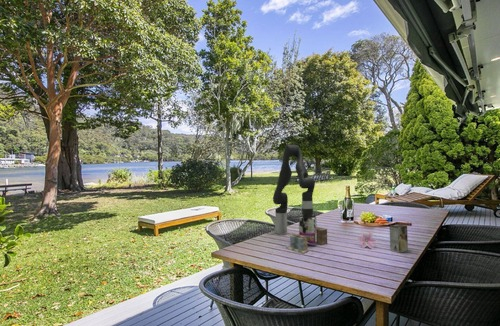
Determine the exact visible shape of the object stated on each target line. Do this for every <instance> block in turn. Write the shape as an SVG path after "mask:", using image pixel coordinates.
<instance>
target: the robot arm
mask: <svg viewBox="0 0 500 326" xmlns="http://www.w3.org/2000/svg"><path fill="white" fill-rule="evenodd" d="M283 150H284V151H283V154H282V155H283V156H282V162H281V167H280V169H279V170H280V171H279V175H278V180H277V184H276V188H275V190H274V193H273V196H272V201H273V204H275V205H279V206H278V207H276V208H275V212H274V213H275V220H274V234H276V235H279V236H280V235H281V236H285V235H288V206H289V205H288V201H289V199H288V194H287V193H286V192H283V190H284V189H285V187H287V185H288V184H289V183H290V182H291V178H292V173H293V171H292V169H291V166H290V161H289V160H290V158H295V159H296V164H295V171H296V174H297V177H298V184H299V188H301V189H307V190H306V191H303V192H302V194H301V214H302V216H301V217H302V218H300V217H298V221H299V220H300V226H301V227H302V228H303V233H306V225H307V223H308V218H311V217H313V218H317V217H316V215H314V203H313V193H314V190H315V186H316V181H315V179H314V178H313V177H308V176H309V172H308V169H307V168H306V166H305V162H304V158H303V155H302V150H301V148H300V146H299V145H297V144H286V145H285V146H284V149H283ZM304 221H305V222H306V223H305V222H304ZM304 224H305V225H304Z"/></svg>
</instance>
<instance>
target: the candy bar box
mask: <svg viewBox="0 0 500 326" xmlns="http://www.w3.org/2000/svg"><path fill="white" fill-rule="evenodd" d="M302 217H303V216H299V218H302ZM304 222H305V221H304ZM305 223H306V222H305ZM304 225H305V224H304ZM317 227H318V226H317V217H315V218H313V217H311V218H308V223H307V225H306V233H303V228H302V227H301V226H300V220H299V219H298V230H299V231H298V235H301V236H305V238H307V244H308V243H309V244H316V242H317Z"/></svg>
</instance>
